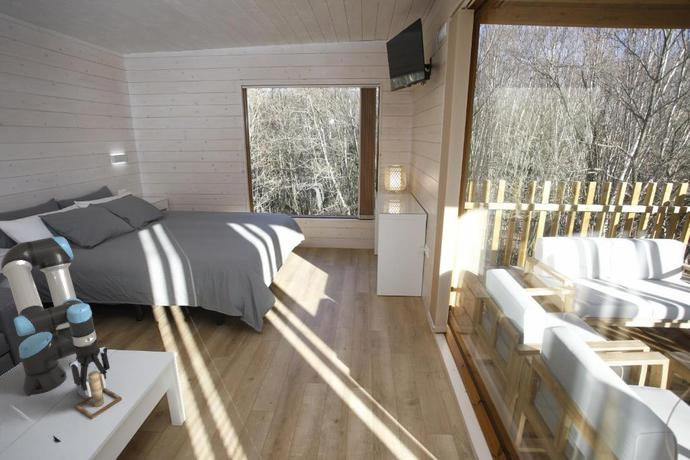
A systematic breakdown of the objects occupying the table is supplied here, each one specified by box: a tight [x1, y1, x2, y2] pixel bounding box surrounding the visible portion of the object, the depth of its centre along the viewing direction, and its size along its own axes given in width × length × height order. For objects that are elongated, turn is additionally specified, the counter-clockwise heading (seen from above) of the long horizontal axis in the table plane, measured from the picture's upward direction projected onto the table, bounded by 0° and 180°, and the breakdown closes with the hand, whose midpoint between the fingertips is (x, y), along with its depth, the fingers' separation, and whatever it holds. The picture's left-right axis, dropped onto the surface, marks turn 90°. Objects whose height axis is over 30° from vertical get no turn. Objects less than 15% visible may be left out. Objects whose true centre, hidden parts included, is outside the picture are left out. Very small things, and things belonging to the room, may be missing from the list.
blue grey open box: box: [75, 377, 103, 399], centre depth 162 cm, size 7×7×5 cm
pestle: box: [87, 370, 105, 408], centre depth 154 cm, size 4×4×15 cm
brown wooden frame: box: [74, 387, 123, 420], centre depth 156 cm, size 12×12×2 cm
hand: (96, 390), depth 154 cm, fingers open, 5 cm apart
